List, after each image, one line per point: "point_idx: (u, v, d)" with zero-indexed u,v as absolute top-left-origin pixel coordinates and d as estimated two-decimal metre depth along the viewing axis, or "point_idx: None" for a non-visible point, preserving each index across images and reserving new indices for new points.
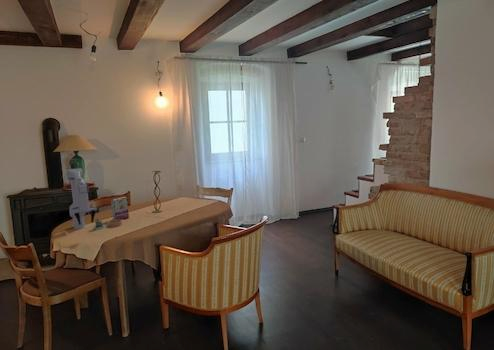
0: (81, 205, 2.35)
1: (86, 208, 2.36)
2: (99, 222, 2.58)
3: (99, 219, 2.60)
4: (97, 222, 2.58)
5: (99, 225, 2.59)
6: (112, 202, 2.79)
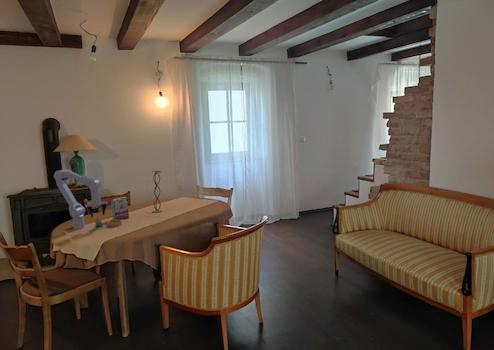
0: (93, 199, 2.55)
1: (98, 202, 2.56)
2: (99, 222, 2.58)
3: (99, 219, 2.60)
4: (97, 222, 2.58)
5: (99, 225, 2.59)
6: (112, 202, 2.79)
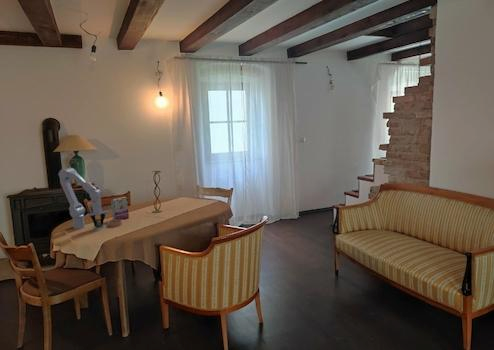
0: (94, 208, 2.56)
1: (99, 211, 2.57)
2: (99, 222, 2.58)
3: (99, 219, 2.60)
4: (97, 222, 2.58)
5: (99, 225, 2.59)
6: (112, 202, 2.79)
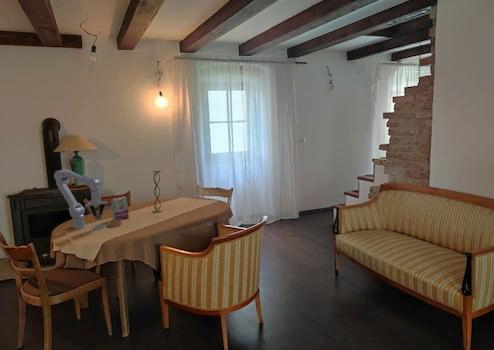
0: (93, 199, 2.55)
1: (98, 201, 2.56)
2: (98, 212, 2.57)
3: (98, 209, 2.59)
4: (96, 212, 2.57)
5: (98, 215, 2.58)
6: (112, 202, 2.79)
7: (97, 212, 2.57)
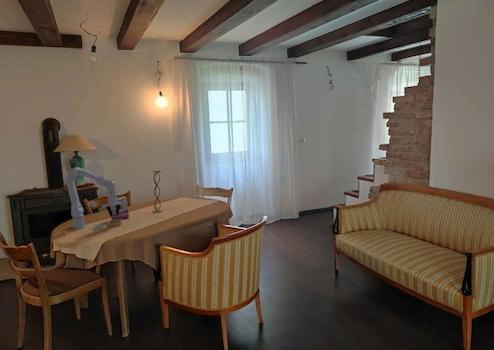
0: (110, 199, 2.61)
1: (114, 202, 2.62)
2: (114, 213, 2.64)
3: (114, 210, 2.66)
4: (112, 213, 2.63)
5: (114, 216, 2.64)
6: None
7: (113, 212, 2.63)
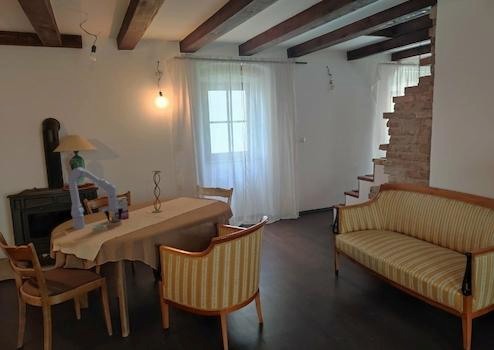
0: (110, 204, 2.61)
1: (115, 206, 2.63)
2: (115, 219, 2.65)
3: (115, 216, 2.66)
4: (113, 219, 2.64)
5: (115, 222, 2.65)
6: None
7: (114, 219, 2.64)
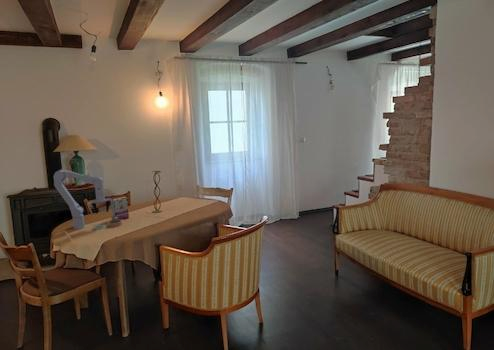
0: (98, 196, 2.61)
1: (102, 199, 2.62)
2: (115, 219, 2.65)
3: (115, 216, 2.66)
4: (113, 219, 2.64)
5: (115, 222, 2.65)
6: (112, 202, 2.79)
7: (114, 219, 2.64)
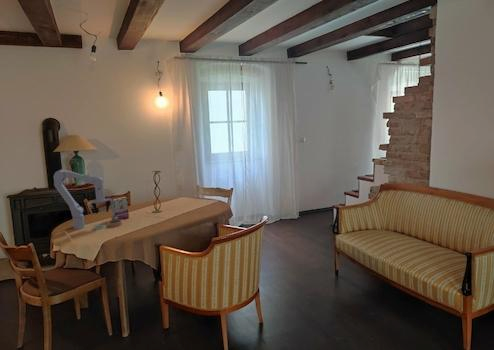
0: (98, 196, 2.61)
1: (102, 199, 2.62)
2: (115, 219, 2.65)
3: (115, 216, 2.66)
4: (113, 219, 2.64)
5: (115, 222, 2.65)
6: (112, 202, 2.79)
7: (114, 219, 2.64)
